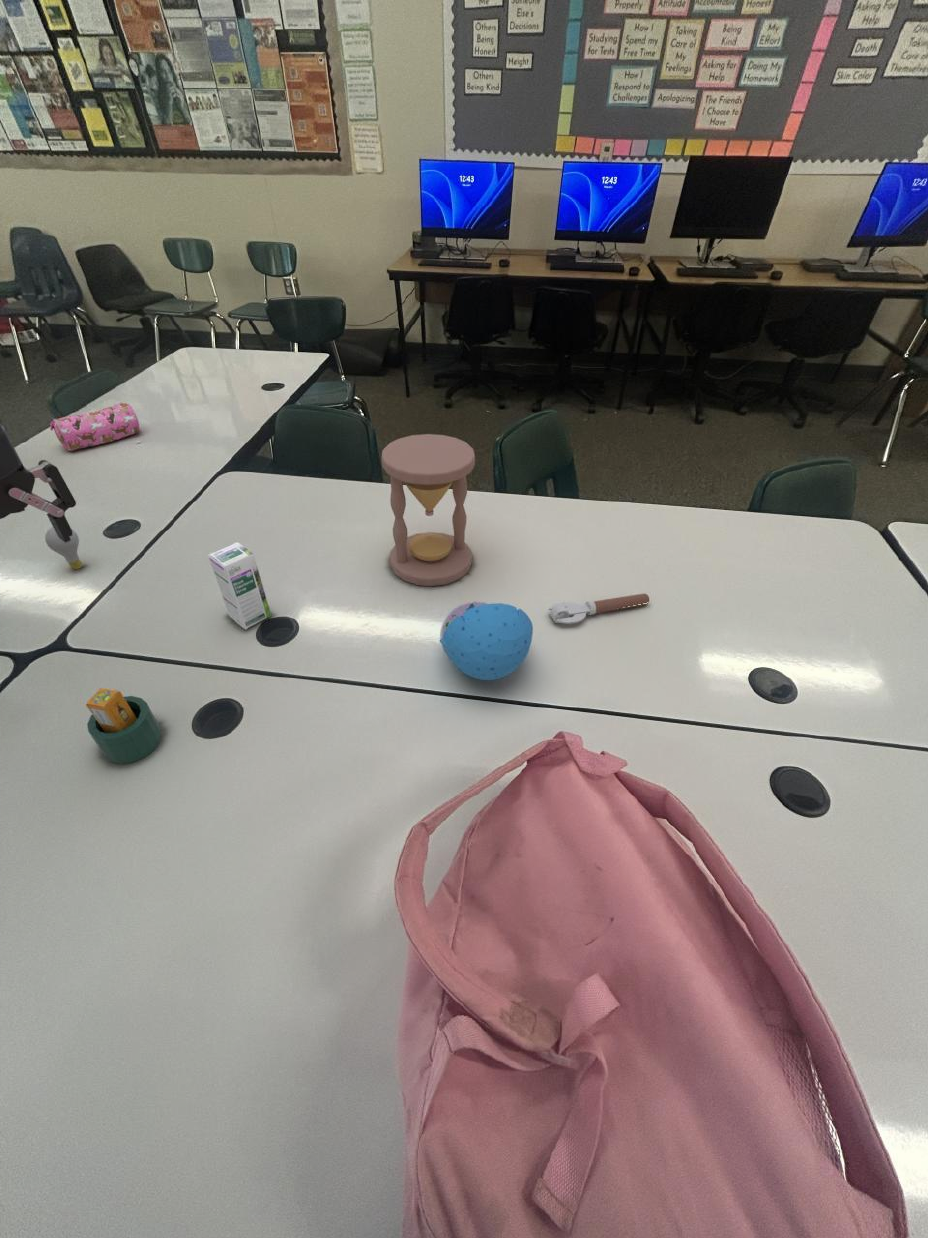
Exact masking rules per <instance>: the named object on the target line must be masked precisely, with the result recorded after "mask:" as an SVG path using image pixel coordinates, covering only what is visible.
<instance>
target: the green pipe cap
mask: <svg viewBox="0 0 928 1238" xmlns="http://www.w3.org/2000/svg"><path fill="white" fill-rule="evenodd" d="M123 697H124V699H125V700H126V702H127V703H128V705H129V707H130V708H131V710H132V711H133V713H134V715H135V716H136V718H137V720H136V721H135V722H134V724H132V725H131V726H129V727H128V728H126V729H124V730H121V731H119V732H116V733H105V732H104V730H103V729H102V727H101V726H100V724H99V723H98V722H97V720H96V719H95V717H94V716H93V714H92V713H91V715H90V717H89V719H88V721H87V732H88V733H89V735H90V737H91V738H92V739H93V741H94V743H95V744H96V745H97V747H98V748H99V750H100V751H101V753H102V754H103V756H104V757H105V758H106V759H107V760H108V761H109V762H111V763H114V764H116V765H126V764H131V763H136V762H138V761H140V760H142V759H145V758H146V757H147V756H149V755H150V754H151V753H153V752H154V750H155V749H156V748H157V747H158V746H159V744H160V743H161V739H162V731H161V727H160V724H159V723H158V721H157V719H156V718H155V715H154V714H153V712H152V710H151V708H150V706H149V705H148V702H147V701H146V700H145V699H143V698H142V697H139V696H134V695H129V696H128V695H127V696H123Z"/></svg>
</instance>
